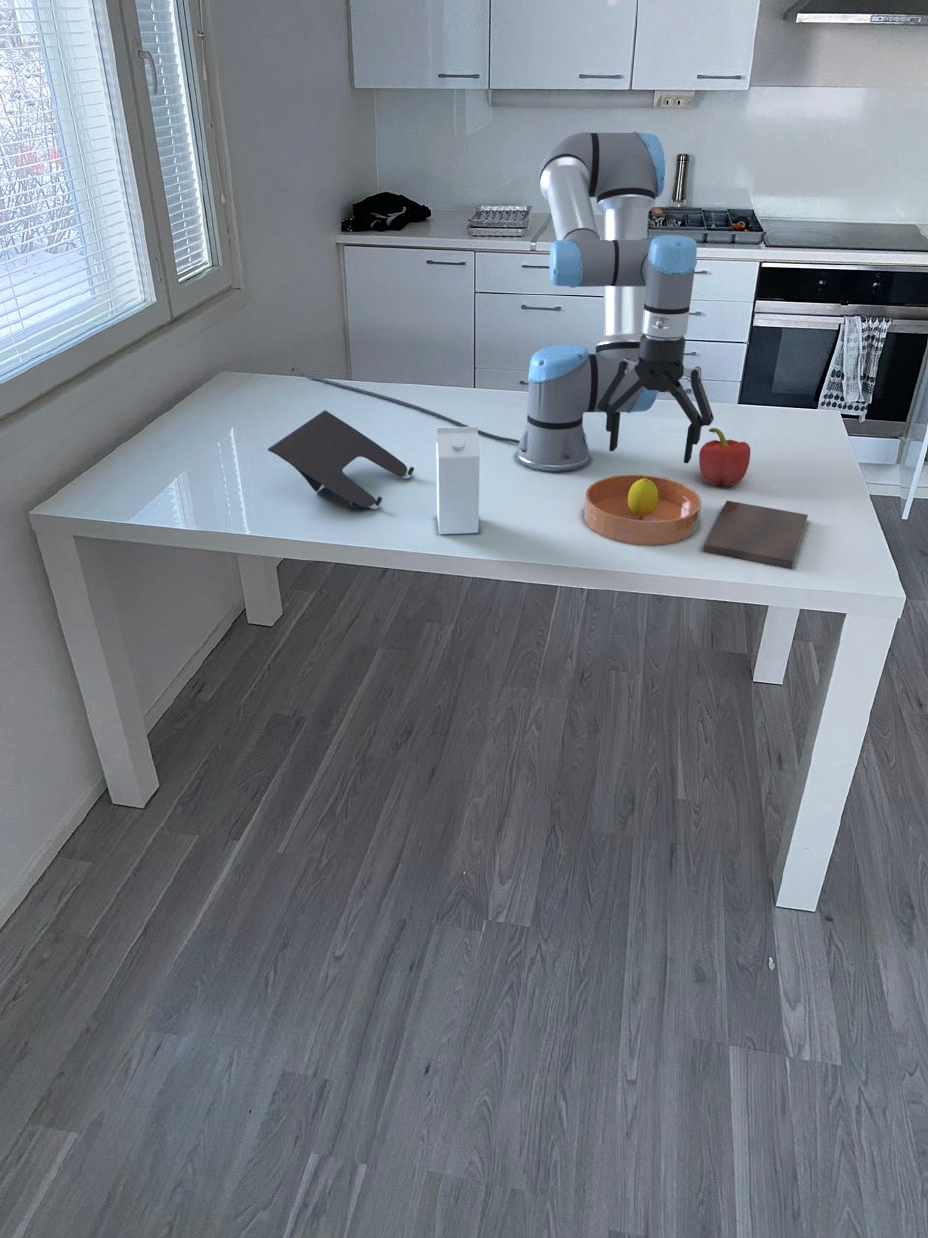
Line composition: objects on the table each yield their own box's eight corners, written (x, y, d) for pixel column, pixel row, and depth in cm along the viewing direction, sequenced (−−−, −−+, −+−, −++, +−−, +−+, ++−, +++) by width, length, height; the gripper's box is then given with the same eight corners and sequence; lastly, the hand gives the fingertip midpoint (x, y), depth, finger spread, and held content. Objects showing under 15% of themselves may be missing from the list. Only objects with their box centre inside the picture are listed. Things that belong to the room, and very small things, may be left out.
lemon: (655, 525, 172) (660, 485, 168) (625, 522, 173) (629, 482, 169) (656, 512, 177) (661, 473, 173) (626, 510, 178) (630, 471, 174)
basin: (569, 531, 171) (570, 509, 168) (603, 488, 187) (605, 467, 185) (683, 554, 164) (686, 531, 161) (708, 507, 180) (711, 485, 178)
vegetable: (682, 475, 193) (689, 429, 188) (724, 468, 197) (731, 422, 191) (714, 495, 184) (722, 447, 179) (757, 487, 188) (766, 440, 183)
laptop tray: (356, 542, 179) (373, 506, 174) (256, 477, 180) (271, 439, 174) (404, 495, 198) (421, 462, 192) (313, 436, 198) (328, 401, 193)
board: (703, 551, 164) (704, 543, 164) (725, 507, 180) (726, 500, 179) (791, 568, 159) (793, 561, 159) (806, 521, 175) (808, 514, 174)
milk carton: (437, 518, 175) (435, 420, 165) (474, 516, 176) (475, 419, 166) (439, 535, 169) (438, 435, 159) (478, 533, 170) (479, 434, 160)
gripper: (585, 332, 159) (577, 450, 170) (734, 349, 150) (715, 473, 161) (598, 322, 165) (589, 437, 176) (742, 338, 156) (723, 458, 167)
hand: (649, 454), depth 169 cm, fingers open, 13 cm apart
